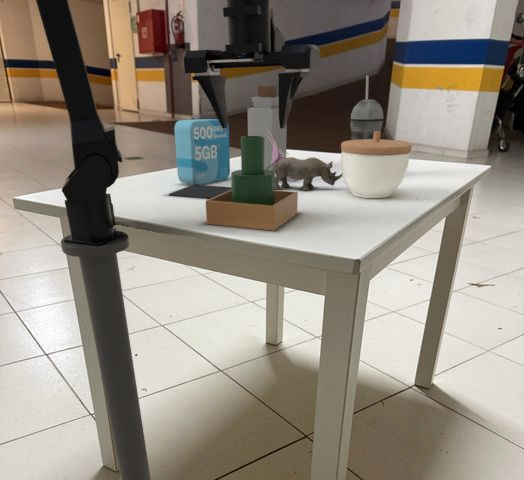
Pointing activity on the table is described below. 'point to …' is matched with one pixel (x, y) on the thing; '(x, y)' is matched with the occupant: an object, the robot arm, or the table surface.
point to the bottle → (253, 175)
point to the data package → (202, 151)
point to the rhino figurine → (303, 171)
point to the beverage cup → (366, 118)
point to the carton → (251, 211)
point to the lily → (275, 153)
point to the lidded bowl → (374, 165)
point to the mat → (201, 191)
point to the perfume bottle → (267, 122)
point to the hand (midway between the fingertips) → (253, 128)
